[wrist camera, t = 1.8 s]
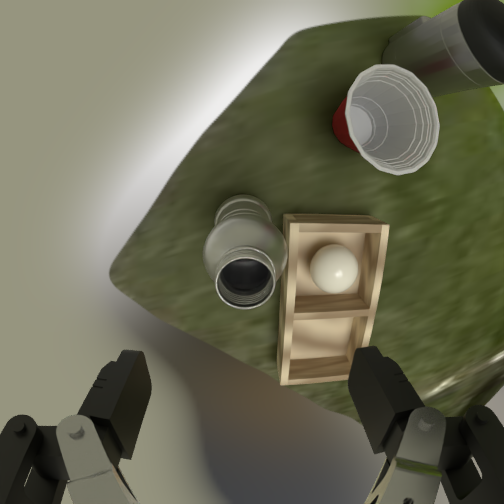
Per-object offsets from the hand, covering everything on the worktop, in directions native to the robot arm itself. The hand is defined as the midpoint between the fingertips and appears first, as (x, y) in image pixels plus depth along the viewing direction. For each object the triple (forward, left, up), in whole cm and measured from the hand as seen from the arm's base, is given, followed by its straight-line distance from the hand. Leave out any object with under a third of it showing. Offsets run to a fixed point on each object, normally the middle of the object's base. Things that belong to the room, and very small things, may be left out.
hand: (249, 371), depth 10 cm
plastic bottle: (0, 0, -28) cm, 28 cm away
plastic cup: (-12, +14, -28) cm, 34 cm away
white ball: (+5, +11, -27) cm, 30 cm away
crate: (+11, +11, -28) cm, 32 cm away
